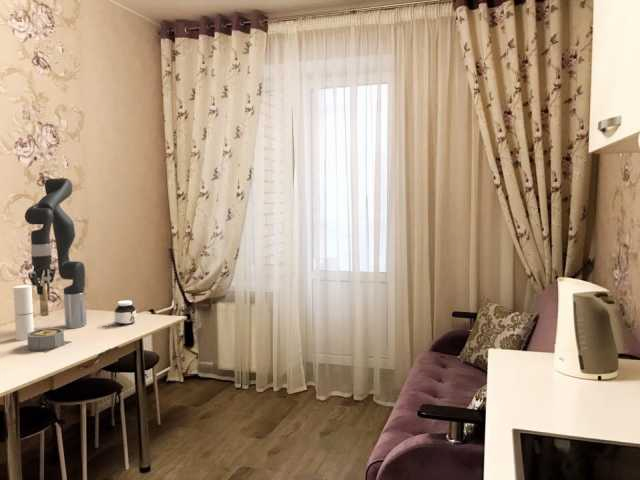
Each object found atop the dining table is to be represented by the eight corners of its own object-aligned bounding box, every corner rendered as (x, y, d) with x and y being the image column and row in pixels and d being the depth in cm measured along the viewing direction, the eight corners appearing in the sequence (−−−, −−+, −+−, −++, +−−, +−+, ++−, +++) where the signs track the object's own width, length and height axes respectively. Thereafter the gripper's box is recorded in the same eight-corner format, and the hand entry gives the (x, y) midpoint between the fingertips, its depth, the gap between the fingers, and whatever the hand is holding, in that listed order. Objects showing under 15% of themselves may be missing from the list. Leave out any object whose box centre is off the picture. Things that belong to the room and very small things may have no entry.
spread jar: (122, 327, 252) (121, 304, 251) (108, 324, 258) (107, 302, 257) (141, 322, 262) (141, 300, 261) (127, 319, 268) (127, 297, 267)
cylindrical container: (26, 342, 225) (23, 288, 223) (12, 341, 227) (9, 287, 225) (37, 338, 232) (35, 285, 230) (24, 337, 234) (21, 284, 232)
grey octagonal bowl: (44, 340, 226) (43, 327, 226) (70, 342, 223) (69, 329, 223) (20, 349, 213) (19, 335, 212) (47, 351, 210) (47, 337, 209)
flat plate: (45, 341, 227) (45, 339, 227) (72, 343, 224) (72, 341, 224) (18, 352, 212) (17, 350, 212) (46, 354, 209) (46, 352, 209)
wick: (44, 314, 219) (42, 282, 217) (50, 314, 218) (48, 283, 217) (39, 316, 216) (37, 284, 214) (45, 316, 215) (43, 284, 214)
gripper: (46, 252, 222) (47, 290, 224) (21, 256, 208) (23, 296, 210) (60, 252, 220) (62, 291, 222) (36, 256, 207) (38, 297, 208)
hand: (43, 293), depth 216 cm, fingers closed on wick, 3 cm apart
